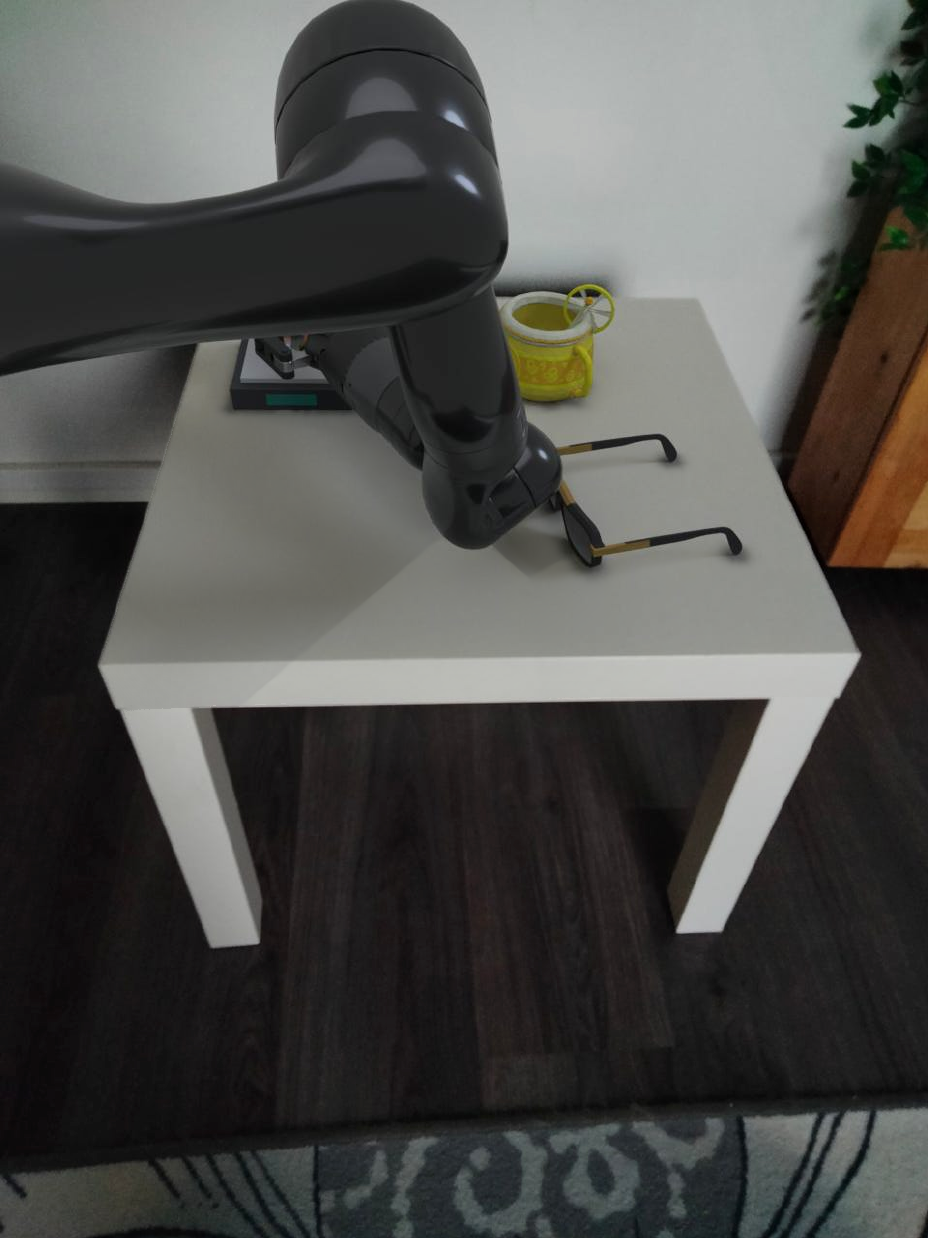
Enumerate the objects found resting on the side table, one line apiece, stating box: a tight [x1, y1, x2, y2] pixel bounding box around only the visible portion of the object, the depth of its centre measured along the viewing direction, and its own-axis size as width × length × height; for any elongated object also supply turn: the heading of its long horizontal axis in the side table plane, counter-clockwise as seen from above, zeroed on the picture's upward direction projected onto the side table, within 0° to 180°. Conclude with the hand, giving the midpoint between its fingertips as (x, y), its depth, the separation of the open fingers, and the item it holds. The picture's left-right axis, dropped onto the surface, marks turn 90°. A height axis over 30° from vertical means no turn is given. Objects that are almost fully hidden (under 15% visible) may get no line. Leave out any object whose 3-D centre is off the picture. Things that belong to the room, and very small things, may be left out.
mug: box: [499, 283, 616, 402], centre depth 91 cm, size 13×11×12 cm
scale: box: [229, 339, 353, 411], centre depth 94 cm, size 12×12×3 cm
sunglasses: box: [547, 433, 743, 568], centre depth 80 cm, size 14×15×5 cm
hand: (302, 298), depth 86 cm, fingers open, 8 cm apart
